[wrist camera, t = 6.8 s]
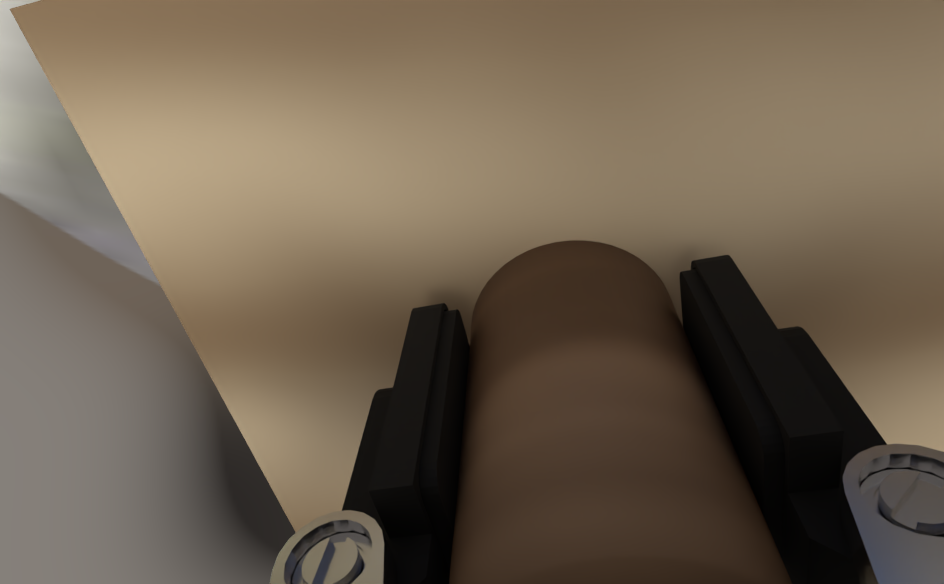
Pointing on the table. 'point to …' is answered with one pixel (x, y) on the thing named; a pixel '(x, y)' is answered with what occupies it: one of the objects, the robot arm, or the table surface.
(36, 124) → the table surface
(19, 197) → the table surface
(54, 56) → the oak lid
